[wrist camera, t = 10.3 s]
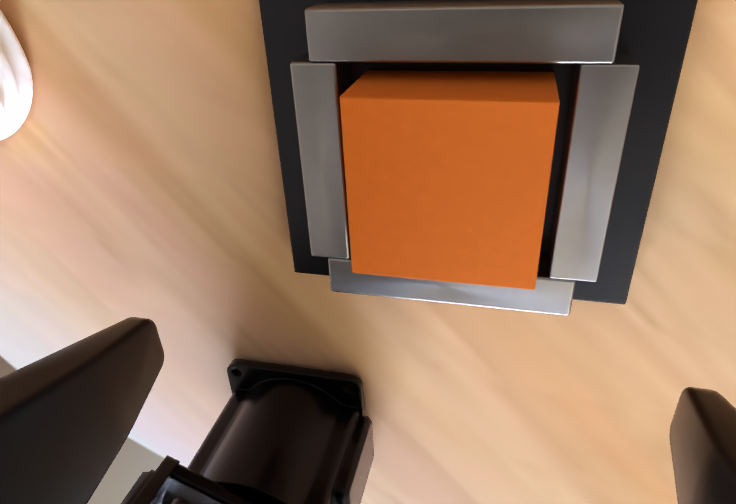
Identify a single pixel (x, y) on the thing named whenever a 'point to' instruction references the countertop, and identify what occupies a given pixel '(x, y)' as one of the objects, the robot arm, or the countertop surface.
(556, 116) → the orange block
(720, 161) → the countertop surface
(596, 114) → the mount plate
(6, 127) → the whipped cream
